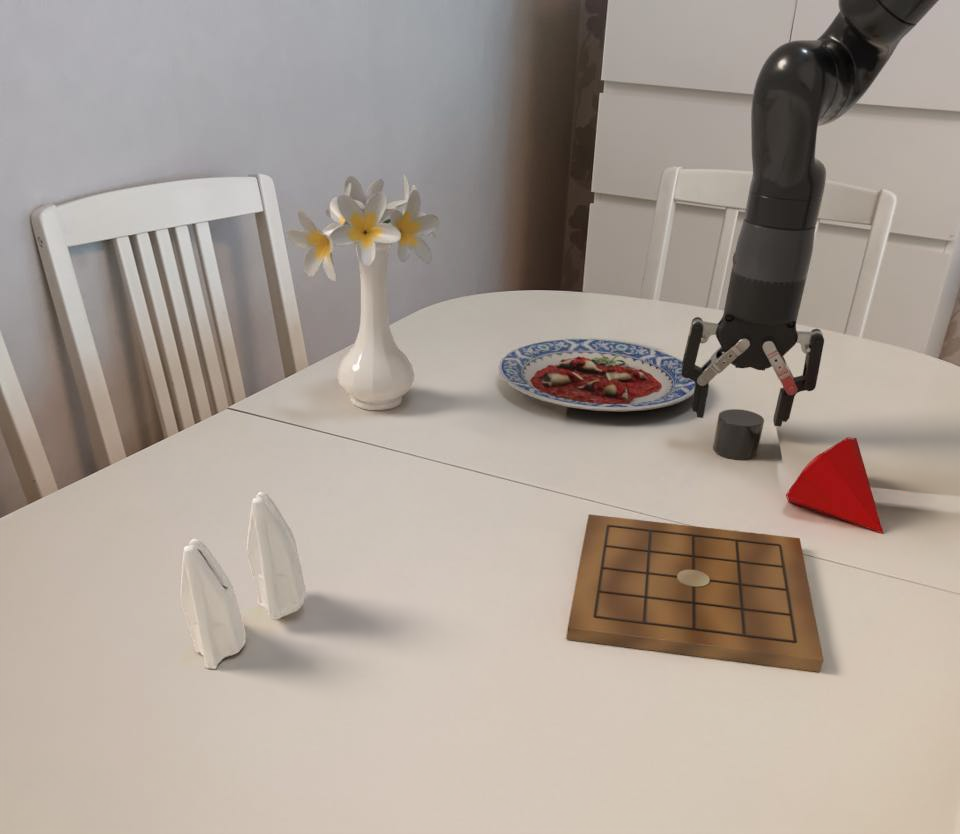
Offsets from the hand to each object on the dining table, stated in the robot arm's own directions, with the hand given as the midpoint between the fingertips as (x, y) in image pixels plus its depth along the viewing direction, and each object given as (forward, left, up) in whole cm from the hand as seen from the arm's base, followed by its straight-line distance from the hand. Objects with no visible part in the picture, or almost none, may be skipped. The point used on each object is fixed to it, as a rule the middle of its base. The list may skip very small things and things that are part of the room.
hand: (738, 419), depth 108 cm
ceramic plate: (+17, -16, -4) cm, 24 cm away
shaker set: (+40, +46, -4) cm, 61 cm away
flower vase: (+43, -3, -4) cm, 43 cm away
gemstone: (-10, +13, -4) cm, 17 cm away
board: (+5, +32, -4) cm, 32 cm away
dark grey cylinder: (0, 0, -4) cm, 4 cm away
